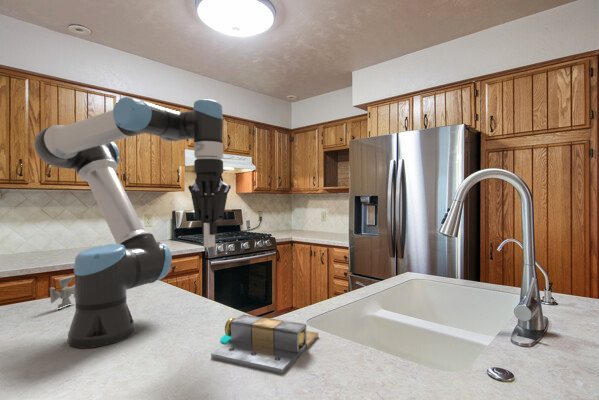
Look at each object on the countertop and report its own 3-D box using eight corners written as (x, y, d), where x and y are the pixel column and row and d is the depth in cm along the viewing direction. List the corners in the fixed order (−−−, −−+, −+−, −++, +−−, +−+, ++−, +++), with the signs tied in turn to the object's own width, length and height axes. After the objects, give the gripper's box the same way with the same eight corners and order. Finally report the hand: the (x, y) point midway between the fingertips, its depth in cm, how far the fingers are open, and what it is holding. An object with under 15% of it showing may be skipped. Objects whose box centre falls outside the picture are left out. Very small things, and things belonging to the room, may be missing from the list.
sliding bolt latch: (211, 358, 76) (210, 332, 76) (258, 326, 94) (257, 305, 94) (282, 374, 69) (282, 345, 69) (318, 336, 87) (318, 314, 87)
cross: (54, 312, 109) (53, 281, 109) (47, 312, 110) (47, 281, 110) (81, 303, 119) (81, 274, 119) (75, 302, 120) (75, 274, 120)
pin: (224, 338, 84) (224, 321, 84) (235, 332, 88) (234, 315, 88) (298, 352, 76) (297, 333, 76) (306, 344, 80) (305, 326, 80)
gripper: (180, 159, 91) (181, 247, 91) (218, 156, 85) (219, 250, 85) (200, 161, 98) (201, 243, 98) (237, 159, 92) (237, 246, 92)
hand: (209, 246), depth 92 cm, fingers closed
